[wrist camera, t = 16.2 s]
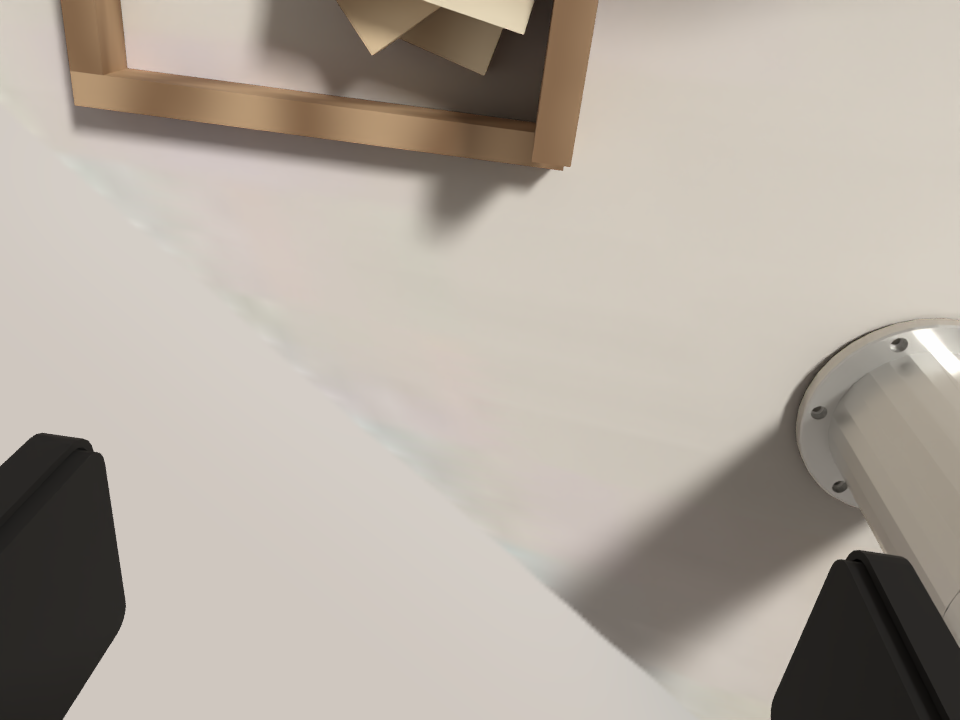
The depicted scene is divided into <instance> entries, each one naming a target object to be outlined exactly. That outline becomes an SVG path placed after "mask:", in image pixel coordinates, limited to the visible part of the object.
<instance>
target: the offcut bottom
mask: <svg viewBox="0 0 960 720" xmlns="http://www.w3.org/2000/svg"><path fill="white" fill-rule="evenodd" d="M502 31H503V28H502V27H499V26H497V25H494V24H491V23H488V22H485V21H482V20H479V19H476V18H473V17H470V16H467V15H464V14H461V13H459V12H456V11H453V10H450V9H447V8H444V7H441V8H440V9H438V10H437V11H436V12H434V13H433V14H432V15H430V16H429V17H427V18H426V19H425V20H423V21H422V22H420V23H419V24H418V25H416V26H415V27H414V28H412V29H411V30H409V31H408V32H407V33H405V34H404V35H402V36H401V37H400V38H399V39H402V40H404V41H406V42H408V43H411V44H413V45H415V46H417V47H420V48H422V49H424V50H427V51H429V52H431V53H433V54H436V55H438V56H440V57H442V58H445V59H447V60H449V61H451V62H454V63H456V64H458V65H461V66H463V67H465V68H467V69H470V70H472V71H474V72H476V73H479V74H481V75H483V76H484V75H485V73H486V72H487V69H488V67H489V64H490V62H491V59H492V56H493V54H494V51H495V49H496V46H497V44H498V41H499V38H500V36H501V33H502Z"/></svg>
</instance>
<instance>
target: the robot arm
mask: <svg viewBox="0 0 960 720" xmlns="http://www.w3.org/2000/svg"><path fill="white" fill-rule="evenodd" d="M895 339H896V340H895ZM893 340H894V341H893ZM796 442H797V445H798V448H799V452H800V455H801V458H802V460H803V462H804V464H805V466H806V468H807V470H808V472H809V473H810V475H811V476H812V477H813V479H814V480H815V481H816V483H817V484H818V485H819V486H820V487H821V488H822V489H823V490H824V491H826V492H827V493H828V494H829V495H831V496H832V497H834V498H836V499H838V500H840V501H841V502H843V503H845V504H847V505H849V506H853V507H856V508H859V509H860V510H861V512H862V514H863V515H864V517H865V519H866V521H867V523H868V525H869V526H870V528H871V530H872V532H873V534H874V536H875V538H876V539H877V541H878V543H879V545H880V547H881V549H882V551H883V552H884V554H882V553H875V552H868V551H861V550H856V551H853V552H851V553H850V554H849V555H848V557H847V559H846V560H842V559H841V560H837V561H835V562H834V563H833V565H832V567H831V569H830V571H829V573H828V576H827V578H826V580H825V582H824V585H823V587H822V589H821V591H820V594H819V596H818V598H817V601H816V603H815V605H814V607H813V610H812V612H811V614H810V616H809V619H808V621H807V623H806V626H805V628H804V630H803V632H802V635H801V637H800V639H799V641H798V644H797V646H796V648H795V651H794V653H793V655H792V657H791V660H790V662H789V664H788V666H787V669H786V671H785V673H784V676H783V678H782V680H781V682H780V685H779V687H778V689H777V691H776V694H775V696H774V699H773V702H772V707H771V720H960V320H953V319H946V318H935V319H917V320H912V321H907V322H902V323H896V324H893V325H891V326H888V327H885V328H882V329H879V330H876V331H874V332H871V333H870V334H868V335H866V336H864V337H862V338H860V339H858V340H856V341H855V342H853V343H851V344H850V345H848V346H847V347H846V348H844V349H843V350H842V351H840V352H839V353H838V354H836V355H835V356H834V357H833V358H832V359H831V360H830V361H829V362H828V363H827V364H826V365H825V366H824V367H823V368H822V369H821V370H820V371H819V372H818V373H817V375H816V376H815V378H814V379H813V381H812V382H811V384H810V385H809V387H808V388H807V389H806V392H805V394H804V397H803V399H802V401H801V404H800V406H799V410H798V415H797V420H796ZM125 604H126V603H125V595H124V589H123V582H122V575H121V568H120V562H119V555H118V549H117V541H116V535H115V528H114V521H113V514H112V508H111V501H110V495H109V488H108V481H107V474H106V467H105V462H104V458H103V456H102V455H101V454H100V453H98V452H94V451H93V448H92V445H91V444H90V443H89V441H88V440H85V439H81V438H74V437H67V436H60V435H53V434H47V433H40V434H36V435H34V436H33V437H31V438H30V439H29V440H28V441H27V442H26V443H25V444H24V445H23V446H21V447H20V448H19V449H18V450H17V451H16V452H15V453H14V454H13V455H12V456H11V457H10V458H9V459H8V460H7V461H5V462H4V463H3V464H2V465H1V466H0V720H63V718H64V716H65V715H66V713H67V712H68V710H69V708H70V707H71V705H72V704H73V702H74V700H75V699H76V698H77V696H78V694H79V693H80V691H81V690H82V688H83V687H84V685H85V683H86V682H87V680H88V679H89V677H90V675H91V674H92V672H93V671H94V669H95V668H96V666H97V665H98V663H99V661H100V660H101V658H102V657H103V655H104V653H105V652H106V650H107V649H108V647H109V646H110V644H111V643H112V641H113V639H114V638H115V636H116V635H117V633H118V631H119V629H120V627H121V625H122V622H123V619H124V615H125V608H126V605H125Z"/></svg>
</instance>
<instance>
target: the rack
mask: <svg viewBox="0 0 960 720" xmlns="http://www.w3.org/2000/svg"><path fill="white" fill-rule="evenodd" d="M597 6H598V0H553V6H552V13H551V20H550V27H549V34H548V41H547V48H546V55H545V62H544V69H543V76H542V83H541V90H540V97H539V104H538V111H537V118H536V122H529V121H521V120H514V119H506V118H498V117H491V116H483V115H476V114H468V113H461V112H453V111H446V110H438V109H431V108H423V107H415V106H408V105H400V104H393V103H385V102H378V101H370V100H363V99H355V98H348V97H340V96H333V95H325V94H317V93H310V92H302V91H295V90H287V89H280V88H272V87H265V86H257V85H250V84H242V83H234V82H227V81H219V80H212V79H204V78H197V77H189V76H182V75H174V74H167V73H159V72H152V71H144V70H136V69H129V68H127V61H126V51H125V41H124V31H123V21H122V11H121V2H120V0H61V7H62V15H63V22H64V29H65V37H66V44H67V52H68V59H69V67H70V74H71V81H72V89H73V96H74V104H75V105H76V106H83V107H91V108H98V109H106V110H113V111H121V112H128V113H136V114H143V115H151V116H158V117H165V118H173V119H180V120H188V121H195V122H203V123H210V124H218V125H225V126H233V127H240V128H248V129H255V130H263V131H270V132H278V133H285V134H292V135H300V136H307V137H315V138H322V139H330V140H337V141H345V142H352V143H360V144H367V145H375V146H382V147H390V148H397V149H404V150H412V151H419V152H427V153H434V154H442V155H449V156H457V157H464V158H472V159H479V160H487V161H494V162H502V163H509V164H517V165H524V166H531V167H539V168H546V169H554V170H561V171H563V167H564V166H567V167H570V166H571V160H572V154H573V149H574V143H575V137H576V131H577V125H578V119H579V113H580V107H581V101H582V95H583V89H584V83H585V77H586V71H587V65H588V59H589V54H590V48H591V42H592V36H593V30H594V24H595V18H596V12H597Z"/></svg>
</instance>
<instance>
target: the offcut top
mask: <svg viewBox="0 0 960 720" xmlns="http://www.w3.org/2000/svg"><path fill="white" fill-rule="evenodd" d="M424 1H426V2H429V3H432V4H435V5H438V6H441V7H444V8H447V9H450V10H453V11H456V12H459V13H461V14H464V15H467V16H470V17H473V18H476V19H479V20H482V21H485V22H488V23H491V24H494V25H497V26H499V27H502V28H505V29H508V30H511V31H514V32H517V33H520V34H523V35H524V33H525V30H526V28H527V25H528V22H529V19H530V15H531V12H532V9H533V6H534V2H535V0H424Z"/></svg>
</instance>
